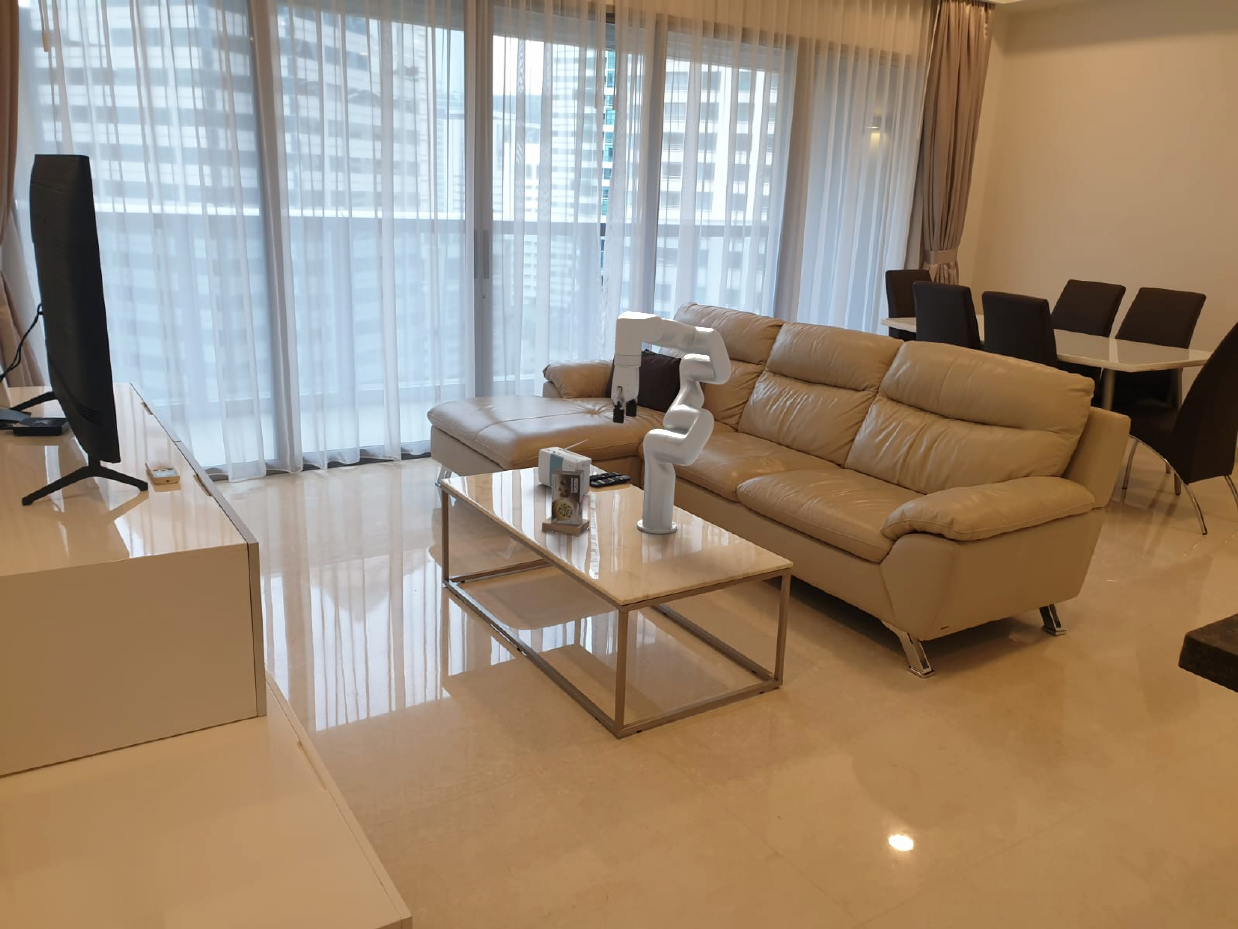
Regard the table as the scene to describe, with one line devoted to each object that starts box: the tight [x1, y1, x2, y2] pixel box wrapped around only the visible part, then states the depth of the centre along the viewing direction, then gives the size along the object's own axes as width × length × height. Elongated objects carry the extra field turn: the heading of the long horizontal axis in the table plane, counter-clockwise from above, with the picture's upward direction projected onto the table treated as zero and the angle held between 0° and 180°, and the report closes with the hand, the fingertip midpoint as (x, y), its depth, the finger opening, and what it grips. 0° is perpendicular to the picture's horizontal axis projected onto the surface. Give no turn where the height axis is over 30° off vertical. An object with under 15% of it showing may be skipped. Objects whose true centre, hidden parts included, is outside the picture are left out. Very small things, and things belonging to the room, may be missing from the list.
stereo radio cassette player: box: [537, 438, 592, 496], centre depth 317 cm, size 21×8×20 cm, turn 42°
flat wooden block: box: [541, 516, 590, 537], centre depth 280 cm, size 9×12×2 cm
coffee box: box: [550, 468, 584, 525], centre depth 277 cm, size 9×6×16 cm
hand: (624, 419), depth 259 cm, fingers open, 9 cm apart
